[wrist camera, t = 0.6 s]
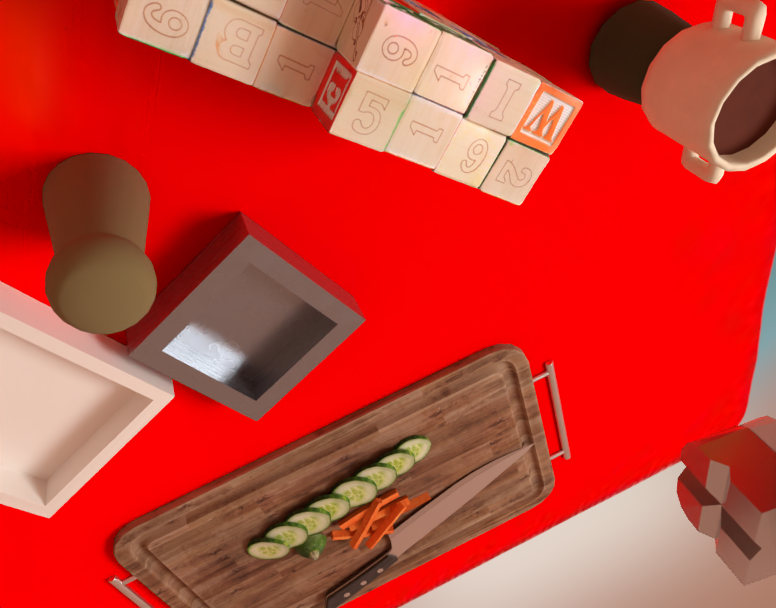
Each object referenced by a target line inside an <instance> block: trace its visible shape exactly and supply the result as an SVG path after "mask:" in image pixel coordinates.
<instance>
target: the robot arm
mask: <svg viewBox="0 0 776 608" xmlns="http://www.w3.org/2000/svg"><path fill="white" fill-rule="evenodd" d="M680 460H681V461H682V462H683V463H684V464H685V466H686V468H685V469H684V470H683V472H682V473H681V474H680V476H679V477H678V483H677V494H678V498H679V501H680V504H681V507H682V509H683V511H684V512H685V514H686V516H687V518H688V519H689V521H690V522H691V523H692V524H693V526H694V527H695V528H696V529H697V530H698V531H699V532H701V533H703V534H705V535H708V536H710V537H712V538H714V539H715V541H716V542H715V543H716V553H717V554H718V556H719V557H720V558H721V559H722V560H723V562H724V563H725V564H726V565H727V566H728V567H729V569H730V570H731V571H732V572H733V573H734V574H735V576H736V577H737V578H738V579H739V581H740V582H741V583H742V584H743V585H744V586H745V585H748V584H751V583H754V582H756V581H759V580H762V579H765V578H767V577H770V576H773V575H776V420H775V419H773V418H771V417H769V416H765V417H760V418H758V419H755V420H752V421H750V422H747V423H744V424H742V425H739V426H733V427H730V428H728V429H725V430H722V431H719V432H717V433H714V434H711V435H709V436H706V437H703V438H700V439H698V440H695V441H692V442H689V443H687V444H686V445H685V446H684V447H683V448H682V452H681V458H680Z"/></svg>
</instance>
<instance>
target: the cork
mask: <svg viewBox="0 0 776 608" xmlns="http://www.w3.org/2000/svg"><path fill="white" fill-rule="evenodd" d="M43 207H44V211H45V215H46V220H47V224H48V228H49V232H50V236H51V241H52V245H53V249H54V253H55V255H54V256H53V258H52V260H51V262H50V264H49V267H48V269H47V271H46V278H45V293H46V295H47V298H48V300H49V302H50V305H51V307H52V309H53V311H54V312H55V313H56V315H57V316H58V317H59V318H60V319H61V320H62V321H63V322H65V323H67V324H69V325H70V326H72V327H74V328H76V329H78V330H80V331H83V332H87V333H92V334H111V333H115V332H119V331H123V330H125V329H127V328H129V327H131V326H133V325H135V324H136V323H137V322H138V321H140V320H141V319H142V318H143V317H144V316H145V315H146V314H147V313H148V311H149V310H150V308H151V306H152V304H153V302H154V299H155V296H156V287H157V279H156V275H155V271H154V268H153V265H152V262H151V261H150V260H149V258H148V257H147V256H146V254H145V253H144V251H145V242H146V234H147V225H148V217H149V207H150V193H149V190H148V186H147V183H146V182H145V180H144V179H143V177H142V176H141V174H140V173H139V172H138V170H136V169H135V168H134V167H132V166H131V165H130V164H128V163H127V162H126V161H124V160H122V159H119V158H116V157H114V156H111V155H109V154H99V153H87V154H81V155H75V156H72V157H70V158H68V159H66V160H65V161H63V162H61V163H59V164H58V165H57V166H56V167H55V168H54V169H53V170H52V171H51V172H50V173H49V174H48V176H47V179H46V181H45V183H44V186H43Z"/></svg>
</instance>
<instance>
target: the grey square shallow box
mask: <svg viewBox="0 0 776 608" xmlns="http://www.w3.org/2000/svg"><path fill="white" fill-rule="evenodd" d="M365 320H366V319H365V318H364V316H363V314H362V312H361V310H360V308H359V306H358V304H357V302H356V301H355V299H354V297H353V296H352V295H350V294H349V293H348V292H346V291H345V290H344V289H342V288H341V287H340V286H338V285H337V284H336V283H335V282H333V281H332V280H331V279H329V278H328V277H327V276H325V275H324V274H323V273H321V272H320V271H319V270H317V269H316V268H315V267H313V266H312V265H311V264H309V263H308V262H307V261H305V260H304V259H303V258H301V257H300V256H299V255H297V254H296V253H295V252H293V251H292V250H291V249H290V248H288V247H287V246H286V245H284V244H283V243H282V242H280V241H279V240H278V239H276V238H275V237H274V236H272V235H271V234H270V233H268V232H267V231H266V230H264V229H263V228H262V227H260V226H259V225H258V224H256V223H255V222H254V221H252V220H251V219H250V218H248V217H247V216H246V215H244V214H243V213H242V212H240V213H239V214H238V215H237V216H236V217H235V218H234V219H233V220H232V221H231V222H230V223H229V224H228V225H227V226H226V227H225V228H224V229H223V230H222V231H221V232H220V233H219V234H218V235H217V236H216V237H215V238H214V239H213V240H212V241H211V242H210V243H209V244H208V245H207V246H206V247H205V248H204V249H203V250H202V251H201V252H200V253H199V254H198V255H197V257H196V258H195V259H194V260H193V261H192V262H191V263H190V264H189V265H188V266H187V267H186V268H185V269H184V270H183V271H182V272H181V273H180V274H179V275H178V276H177V277H176V278H175V279H174V280H173V281H172V282H171V283H170V284H169V285H168V286H167V287H166V288H165V289H164V290H163V291H162V292H161V293H160V294H159V295H158V296H157V297H156V298H155V299H154V302H153V304H152V306H151V308H150V310H149V311H148V313H147V314H146V315H145V316H144V317H143V318H142V319H141V320H140V321H138V322H137V323H136V324H135V325H133V326H131V327H129V328H127V329H126V338H127V349H128V356H129V357H131V358H133V359H135V360H137V361H139V362H141V363H143V364H145V365H147V366H149V367H151V368H153V369H155V370H157V371H159V372H161V373H162V374H164V375H166V376H168V377H170V378H172V379H174V380H176V381H178V382H180V383H182V384H184V385H186V386H188V387H190V388H192V389H194V390H196V391H198V392H200V393H202V394H204V395H206V396H208V397H210V398H212V399H214V400H216V401H218V402H220V403H222V404H224V405H226V406H228V407H230V408H232V409H234V410H236V411H238V412H240V413H241V414H243V415H245V416H247V417H249V418H251V419H253V420H255V421H258V420H259V419H260V418H261V417H262V416H263V415H264V414H265V413H266V412H267V411H269V410H270V409H271V408H272V407H273V406H274V405H275V404H276V403H277V402H278V401H279V400H280V399H281V398H283V397H284V396H285V395H286V394H287V393H288V392H289V391H290V390H291V389H292V388H293V387H294V386H295V385H297V384H298V383H299V382H300V381H301V380H302V379H303V378H304V377H305V376H306V375H307V374H308V373H309V372H311V371H312V370H313V369H314V368H315V367H316V366H317V365H318V364H319V363H320V362H321V361H322V360H323V359H325V358H326V357H327V356H328V355H329V354H330V353H331V352H332V351H333V350H334V349H335V348H336V347H337V346H339V345H340V344H341V343H342V342H343V341H344V340H345V339H346V338H347V337H348V336H349V335H350V334H351V333H353V332H354V331H355V330H356V329H357V328H358V327H359V326H360V325H361V324H362V323H363V322H364V321H365Z"/></svg>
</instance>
